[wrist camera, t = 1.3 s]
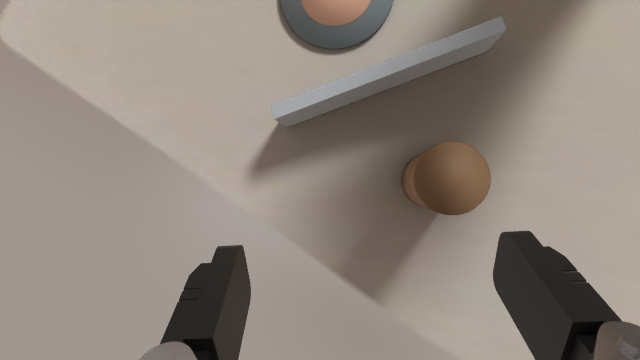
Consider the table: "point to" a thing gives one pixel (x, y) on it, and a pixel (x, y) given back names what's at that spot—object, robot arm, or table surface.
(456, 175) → the walnut pin
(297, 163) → the table surface
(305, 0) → the mat
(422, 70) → the acrylic wall
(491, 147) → the table surface
